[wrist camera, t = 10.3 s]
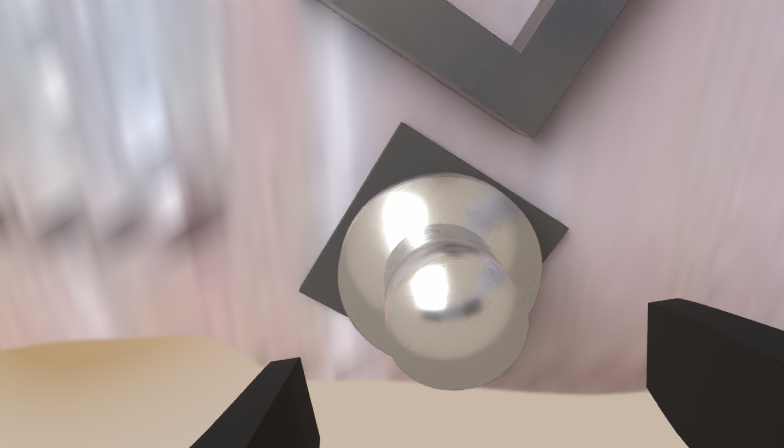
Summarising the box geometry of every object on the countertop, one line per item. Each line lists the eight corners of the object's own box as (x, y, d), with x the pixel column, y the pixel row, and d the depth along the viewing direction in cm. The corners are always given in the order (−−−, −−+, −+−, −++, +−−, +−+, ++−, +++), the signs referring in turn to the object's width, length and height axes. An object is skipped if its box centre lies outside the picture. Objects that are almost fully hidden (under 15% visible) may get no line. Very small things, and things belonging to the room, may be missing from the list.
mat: (563, 224, 19) (568, 228, 18) (456, 367, 21) (458, 374, 20) (401, 121, 17) (401, 122, 17) (300, 286, 19) (298, 291, 19)
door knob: (555, 224, 18) (639, 292, 13) (453, 356, 20) (484, 469, 14) (406, 126, 17) (423, 151, 11) (310, 277, 19) (280, 366, 13)
